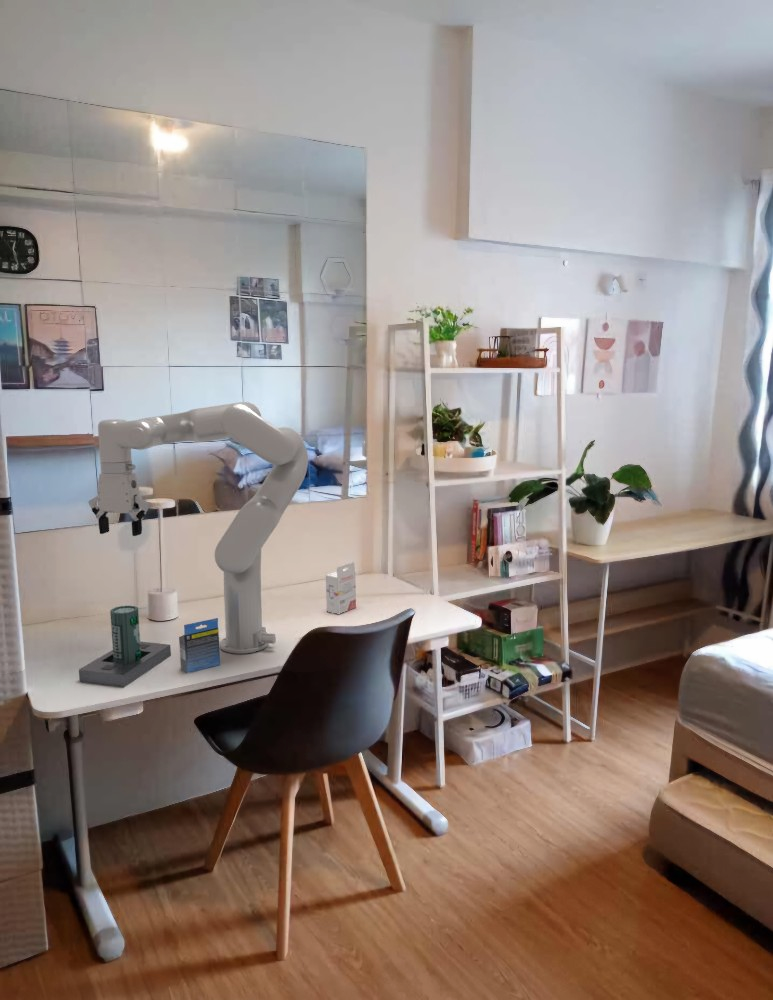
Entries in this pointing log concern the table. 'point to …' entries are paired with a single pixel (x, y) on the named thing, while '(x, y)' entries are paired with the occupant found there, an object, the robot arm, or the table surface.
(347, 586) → the ink cartridge box
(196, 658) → the label tape cartridge
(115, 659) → the can
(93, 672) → the rail plate
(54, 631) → the table surface
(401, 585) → the table surface
